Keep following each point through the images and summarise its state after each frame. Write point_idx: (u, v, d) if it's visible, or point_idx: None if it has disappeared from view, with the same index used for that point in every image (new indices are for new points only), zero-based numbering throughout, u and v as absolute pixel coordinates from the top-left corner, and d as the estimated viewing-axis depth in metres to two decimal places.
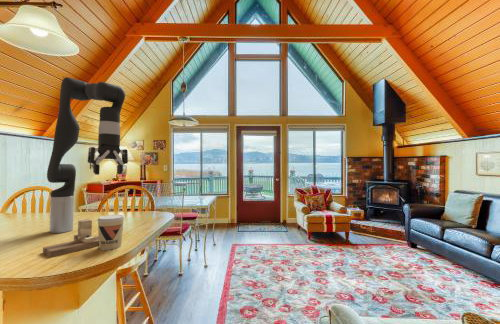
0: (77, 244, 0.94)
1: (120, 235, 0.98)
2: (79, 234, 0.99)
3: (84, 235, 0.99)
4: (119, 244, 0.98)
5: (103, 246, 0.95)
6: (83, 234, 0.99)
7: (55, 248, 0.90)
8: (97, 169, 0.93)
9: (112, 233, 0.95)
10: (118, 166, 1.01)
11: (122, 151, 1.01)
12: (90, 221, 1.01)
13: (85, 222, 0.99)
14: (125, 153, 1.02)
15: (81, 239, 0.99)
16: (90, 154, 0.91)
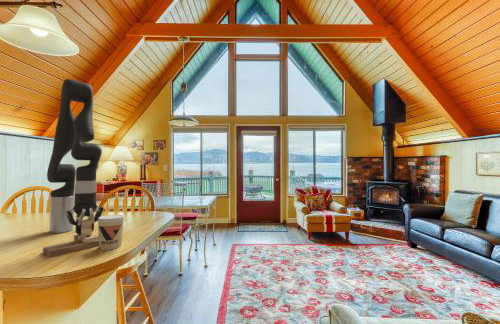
0: (77, 244, 0.94)
1: (120, 235, 0.98)
2: None
3: (84, 235, 0.99)
4: (119, 244, 0.98)
5: (103, 246, 0.95)
6: (83, 234, 0.99)
7: (55, 248, 0.90)
8: (79, 230, 0.98)
9: (112, 233, 0.95)
10: None
11: (98, 208, 1.05)
12: (90, 221, 1.01)
13: (85, 222, 0.99)
14: (100, 211, 1.05)
15: (81, 239, 0.99)
16: (69, 218, 0.96)
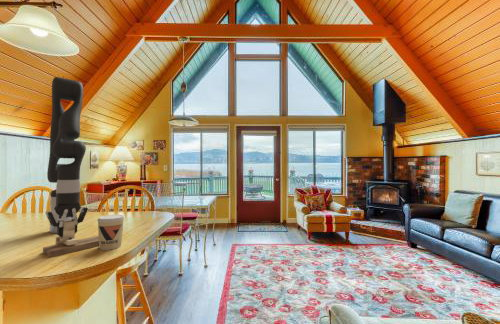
0: (77, 244, 0.94)
1: (120, 235, 0.98)
2: None
3: (66, 237, 0.94)
4: (119, 244, 0.98)
5: (103, 246, 0.95)
6: (65, 236, 0.93)
7: (55, 248, 0.90)
8: (61, 231, 0.93)
9: (112, 233, 0.95)
10: None
11: (82, 209, 0.99)
12: (73, 222, 0.96)
13: (67, 223, 0.94)
14: (84, 211, 0.99)
15: (63, 241, 0.94)
16: (50, 219, 0.90)
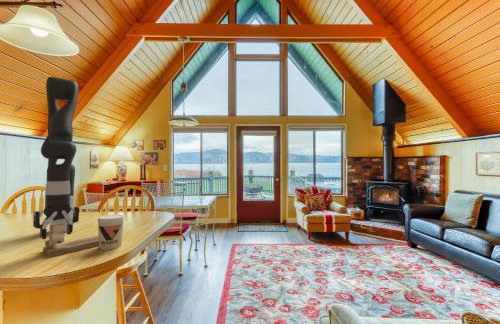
0: (77, 244, 0.94)
1: (120, 235, 0.98)
2: (50, 240, 0.91)
3: (56, 241, 0.91)
4: (119, 244, 0.98)
5: (103, 246, 0.95)
6: (54, 240, 0.91)
7: None
8: (44, 234, 0.89)
9: (112, 233, 0.95)
10: (67, 226, 0.96)
11: (73, 209, 0.97)
12: (63, 225, 0.93)
13: (57, 227, 0.91)
14: (76, 211, 0.97)
15: (52, 245, 0.91)
16: (35, 219, 0.87)
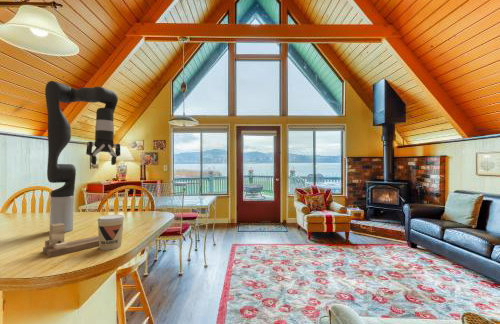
0: (77, 244, 0.94)
1: (120, 235, 0.98)
2: (50, 240, 0.91)
3: (56, 241, 0.91)
4: (119, 244, 0.98)
5: (103, 246, 0.95)
6: (54, 240, 0.91)
7: None
8: (94, 160, 1.11)
9: (112, 233, 0.95)
10: (112, 158, 1.19)
11: (115, 145, 1.20)
12: (63, 225, 0.93)
13: (57, 227, 0.91)
14: (118, 147, 1.20)
15: (52, 245, 0.91)
16: (88, 147, 1.10)
